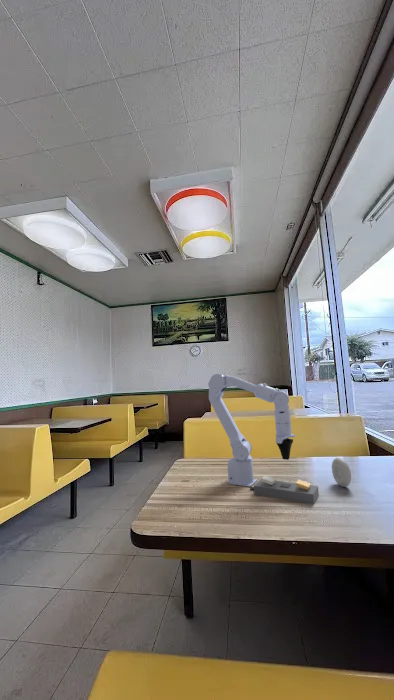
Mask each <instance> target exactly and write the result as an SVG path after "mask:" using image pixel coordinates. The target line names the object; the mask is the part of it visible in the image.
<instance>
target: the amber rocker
mask: <svg viewBox="0 0 394 700" xmlns="http://www.w3.org/2000/svg"><path fill="white" fill-rule="evenodd" d="M295 483H296V486H298V487H301V488H303V489H306V490H308V489H309V488H310V485H312V484H311V483H310V482H307V481H304V480H302V479H297V481H296V482H295Z"/></svg>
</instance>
